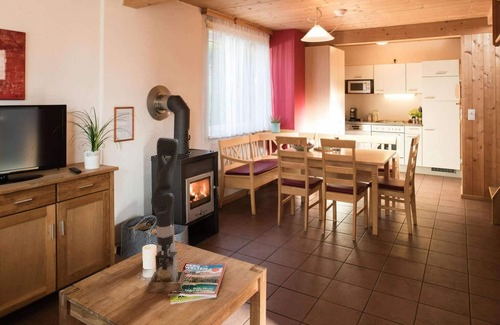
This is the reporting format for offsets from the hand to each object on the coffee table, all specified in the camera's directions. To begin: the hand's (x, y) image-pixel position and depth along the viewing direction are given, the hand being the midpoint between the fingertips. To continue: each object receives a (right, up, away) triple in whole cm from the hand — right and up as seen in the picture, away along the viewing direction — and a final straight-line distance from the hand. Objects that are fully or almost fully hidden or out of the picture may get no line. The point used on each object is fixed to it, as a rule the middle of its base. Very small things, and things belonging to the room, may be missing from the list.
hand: (166, 265), depth 178 cm
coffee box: (0, -10, +2) cm, 10 cm away
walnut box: (0, -11, +2) cm, 11 cm away
